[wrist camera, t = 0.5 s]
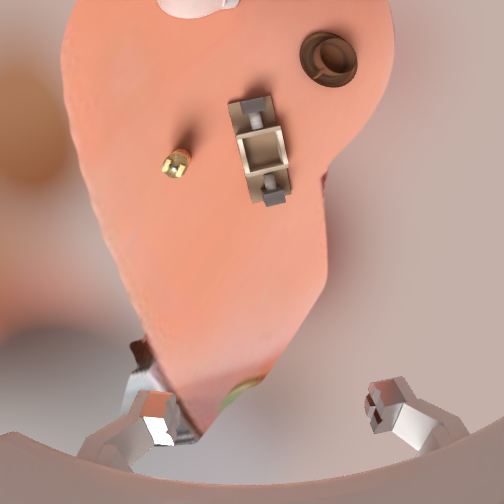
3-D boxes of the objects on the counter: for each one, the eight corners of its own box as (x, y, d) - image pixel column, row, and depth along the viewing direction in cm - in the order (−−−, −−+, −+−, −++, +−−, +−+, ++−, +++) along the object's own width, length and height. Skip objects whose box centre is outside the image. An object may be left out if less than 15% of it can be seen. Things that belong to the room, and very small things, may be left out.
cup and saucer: (343, 97, 49) (357, 96, 44) (289, 73, 46) (297, 69, 41) (359, 50, 44) (374, 46, 39) (307, 25, 41) (318, 16, 36)
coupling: (175, 145, 50) (166, 152, 41) (194, 153, 51) (189, 161, 42) (166, 164, 51) (157, 175, 42) (185, 172, 52) (179, 184, 44)
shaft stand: (227, 104, 48) (228, 103, 43) (269, 95, 48) (275, 93, 43) (251, 201, 57) (255, 211, 52) (289, 192, 57) (297, 200, 52)
